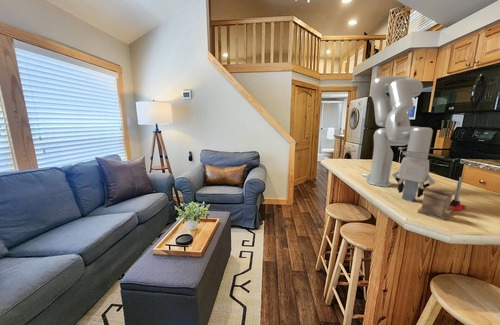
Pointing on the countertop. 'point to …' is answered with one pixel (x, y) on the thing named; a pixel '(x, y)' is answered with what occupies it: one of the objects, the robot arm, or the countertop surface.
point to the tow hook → (457, 198)
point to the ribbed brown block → (436, 203)
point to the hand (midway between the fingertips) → (409, 194)
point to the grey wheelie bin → (410, 190)
